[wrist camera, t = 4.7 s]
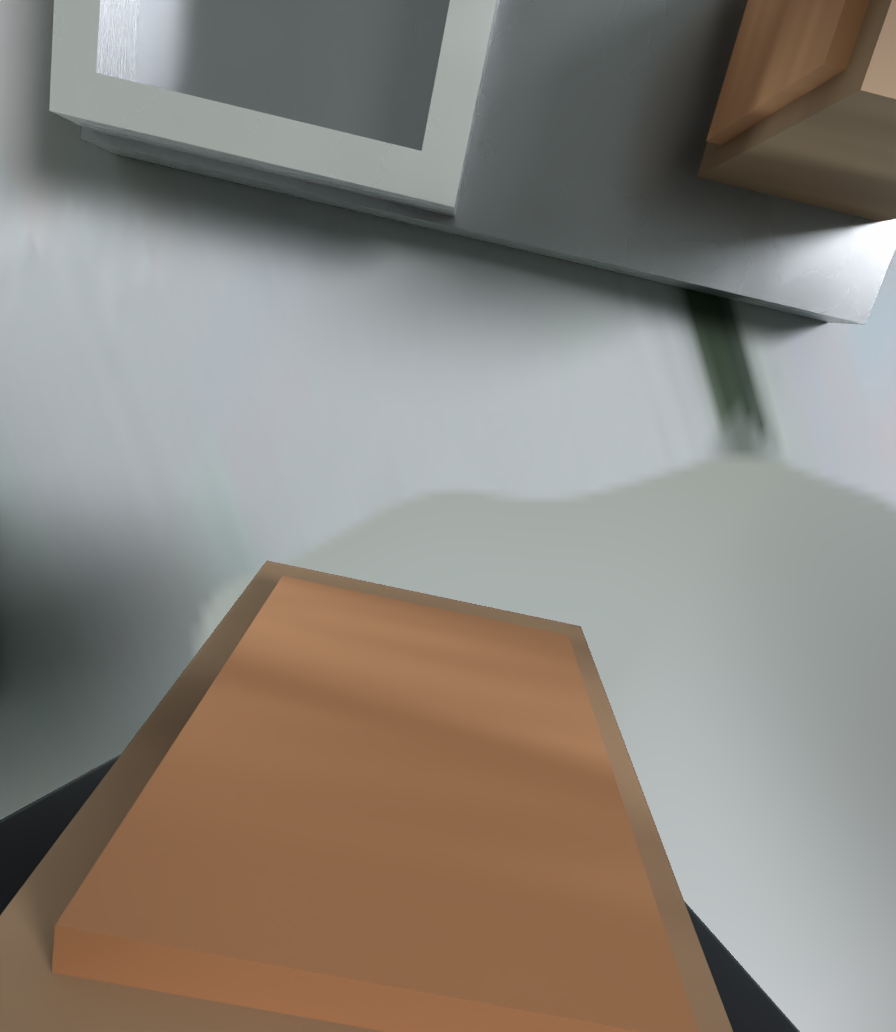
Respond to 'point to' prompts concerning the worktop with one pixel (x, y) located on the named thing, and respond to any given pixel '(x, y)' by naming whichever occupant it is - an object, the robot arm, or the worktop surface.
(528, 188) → the grey base plate
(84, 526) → the worktop surface
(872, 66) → the brown wooden block
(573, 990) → the tan wooden block
